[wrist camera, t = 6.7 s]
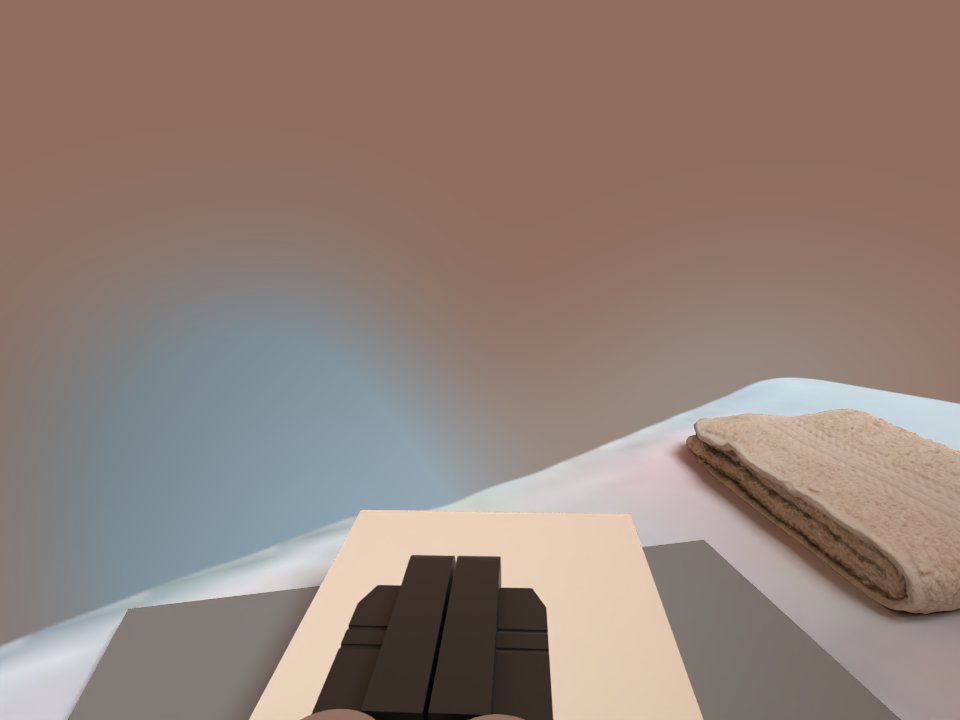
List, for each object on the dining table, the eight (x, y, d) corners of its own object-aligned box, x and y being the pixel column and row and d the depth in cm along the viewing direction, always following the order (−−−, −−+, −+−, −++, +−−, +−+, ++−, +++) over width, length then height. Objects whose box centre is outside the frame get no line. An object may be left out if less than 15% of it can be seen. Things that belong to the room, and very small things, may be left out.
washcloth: (844, 441, 42) (849, 394, 41) (1180, 601, 25) (1199, 525, 24) (670, 455, 40) (673, 406, 39) (904, 639, 23) (917, 559, 22)
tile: (759, 1031, 11) (628, 575, 25) (772, 912, 10) (630, 514, 24) (179, 994, 12) (364, 569, 25) (162, 881, 11) (360, 510, 25)
